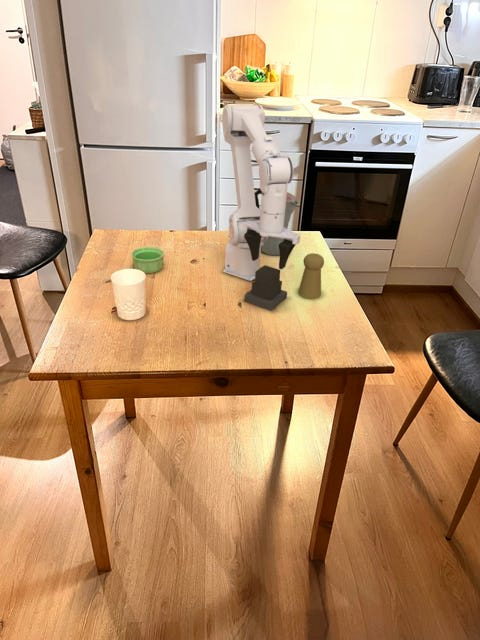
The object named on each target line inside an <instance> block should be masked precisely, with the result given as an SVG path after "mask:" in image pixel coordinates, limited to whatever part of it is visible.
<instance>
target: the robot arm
mask: <svg viewBox="0 0 480 640" xmlns="http://www.w3.org/2000/svg"><path fill="white" fill-rule="evenodd" d="M265 120H266V114H265V110H264V107H263V106H262V104H259V103H257V104H231V105H230V104H225V105H224V107H223V108H222V114H221V124H222V133H223V137H224V142H225V143H226V144H228V145H230V150H231V155H232V164H233V172H234V173H233V174H234V183H235V194H236V201H237V209H236V210H234V211H233V212H232V213H231V214H230V215H229V218H228V224H229V226H228V236H229V241H228V242H227V244H226V246H225V250H224V269H223V270H222V272H223V273H225V274H228V275H231V276H233V277H237V278H240V279H242V280H245V281H248V282H252V281H255V272H256V271H257V270H258V269H260V268H261V266H260V265H261V254H262V253H261V252H262V251H261V246H262V245H263V244H264V242H265V241H266V240H267V239H268V236H271V237H275V238H278V239H282V240H284V241H283V242H281V243H280V244H279V252H280V255H279V259H278V269H279V270H283V269H284V268H286V265H287V263H288V259H289V257H290V256H291V253H292V251H293V250H294V248H295V247H296V245H298V244H299V243H300V242H301V234H299V233H297V232H295V231H293V230H290V229H286V228H284V218H285V207H286V197H287V192H288V185H289V184H291V183H292V181H293V178H294V173H295V172H294V170H295V169H294V163H293V160H292V157H290V156H289V155H288V156H287V155H285V154H282V152H281V150H280V148H279V146H278V145H277V143H276V141H275V139H274V138H273V137H272V136H270V135H267V132H266V129H265V126H264V125H265V122H266V121H265ZM251 144H252V146H251ZM251 152H252V153H251ZM251 154H253V157H254V159H255V161H256V163H257V165H258V177H259V189H260V190H261V191H262V195H260V196H261V198H260V209H259V208H257V207H256V202H255V185H254V175H253V165H252V155H251Z"/></svg>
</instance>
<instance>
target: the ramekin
mask: <svg viewBox="0 0 480 640" xmlns="http://www.w3.org/2000/svg"><path fill="white" fill-rule="evenodd" d="M164 256H165V252H164V250H163V249H161V248H159V247H155V246H142V247H138V248H135V249H134V250H133V251H132V252H131V258H132V263H133V269H137V270H140V271H142V272H144V273H145V274H153V273H158V272H159V271H161V270H162V269H163V267H164V258H165V257H164Z"/></svg>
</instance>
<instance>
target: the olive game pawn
mask: <svg viewBox="0 0 480 640" xmlns="http://www.w3.org/2000/svg"><path fill="white" fill-rule="evenodd" d="M324 264H325V259H324V257H323V256H322V255H321V254H319V253H316V252H315V253H314V252H312V253H307V254H306V255H305V256H304V258H303V266H304V269H303V273H302V276H301V279H300V280H301V281H300V283H299V288H298V295H299V297H302V298H304V299H307V300H316V299H318V298H320V297H321V296H322V269H323V267H324Z"/></svg>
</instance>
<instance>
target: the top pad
mask: <svg viewBox="0 0 480 640" xmlns="http://www.w3.org/2000/svg"><path fill="white" fill-rule="evenodd" d="M280 278H281V269H279V268H275V267H273V266H269V265H263V266H260V269H258V270H257V271H256V272H255V279H254V281H255V283H257V284H260V285H263V286H266V287H269V288H271V287H273V286H274V285H275V284H276V283H278V282H279V280H280ZM280 281H281V280H280Z"/></svg>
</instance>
